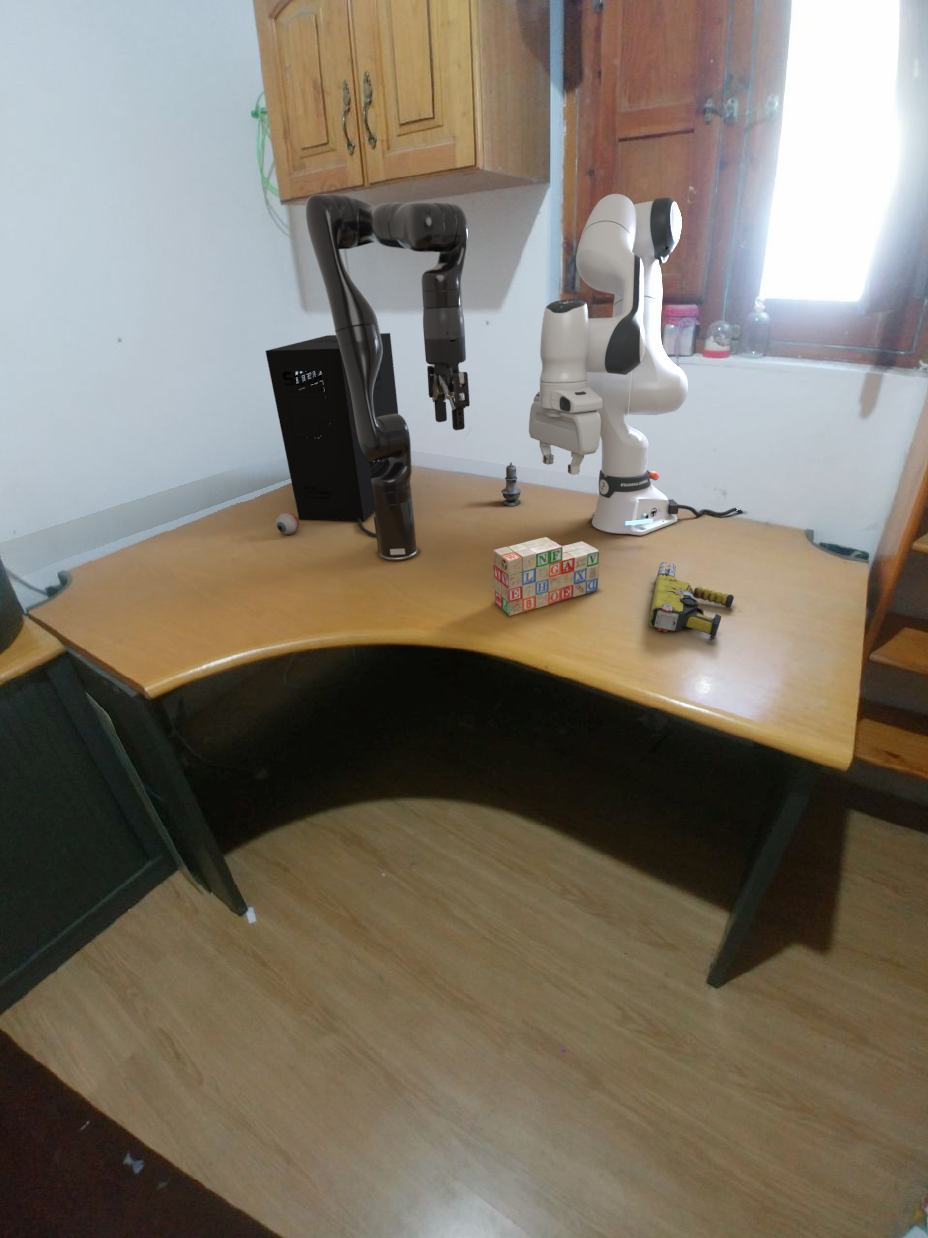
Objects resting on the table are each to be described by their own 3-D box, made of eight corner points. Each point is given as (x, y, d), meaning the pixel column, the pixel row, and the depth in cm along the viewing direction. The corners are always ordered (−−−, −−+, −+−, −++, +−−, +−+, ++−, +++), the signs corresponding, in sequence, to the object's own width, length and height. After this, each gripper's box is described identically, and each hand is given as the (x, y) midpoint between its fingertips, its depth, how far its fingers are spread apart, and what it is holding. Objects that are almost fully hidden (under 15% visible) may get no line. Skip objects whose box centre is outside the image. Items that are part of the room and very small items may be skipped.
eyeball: (273, 537, 164) (268, 516, 161) (287, 528, 169) (282, 508, 166) (291, 539, 161) (286, 518, 158) (305, 530, 166) (301, 510, 163)
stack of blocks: (580, 579, 132) (583, 527, 126) (597, 591, 127) (601, 537, 121) (494, 603, 125) (492, 548, 119) (508, 616, 120) (508, 560, 114)
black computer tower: (364, 521, 170) (339, 348, 148) (298, 518, 175) (265, 350, 152) (405, 480, 202) (390, 332, 180) (349, 479, 207) (327, 335, 184)
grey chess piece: (520, 506, 175) (520, 465, 169) (500, 505, 176) (499, 465, 170) (522, 499, 180) (522, 459, 174) (503, 499, 181) (502, 459, 175)
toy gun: (734, 572, 125) (660, 559, 129) (740, 625, 105) (652, 607, 109) (728, 592, 127) (655, 579, 131) (733, 648, 107) (647, 630, 111)
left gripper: (411, 334, 115) (419, 421, 123) (440, 339, 103) (446, 435, 111) (447, 330, 117) (452, 416, 125) (479, 335, 106) (483, 429, 114)
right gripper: (521, 391, 122) (521, 460, 129) (578, 404, 105) (575, 482, 112) (548, 388, 124) (546, 456, 131) (608, 400, 108) (603, 477, 114)
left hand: (449, 425), depth 118 cm, fingers open, 8 cm apart
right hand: (560, 468), depth 121 cm, fingers open, 8 cm apart
